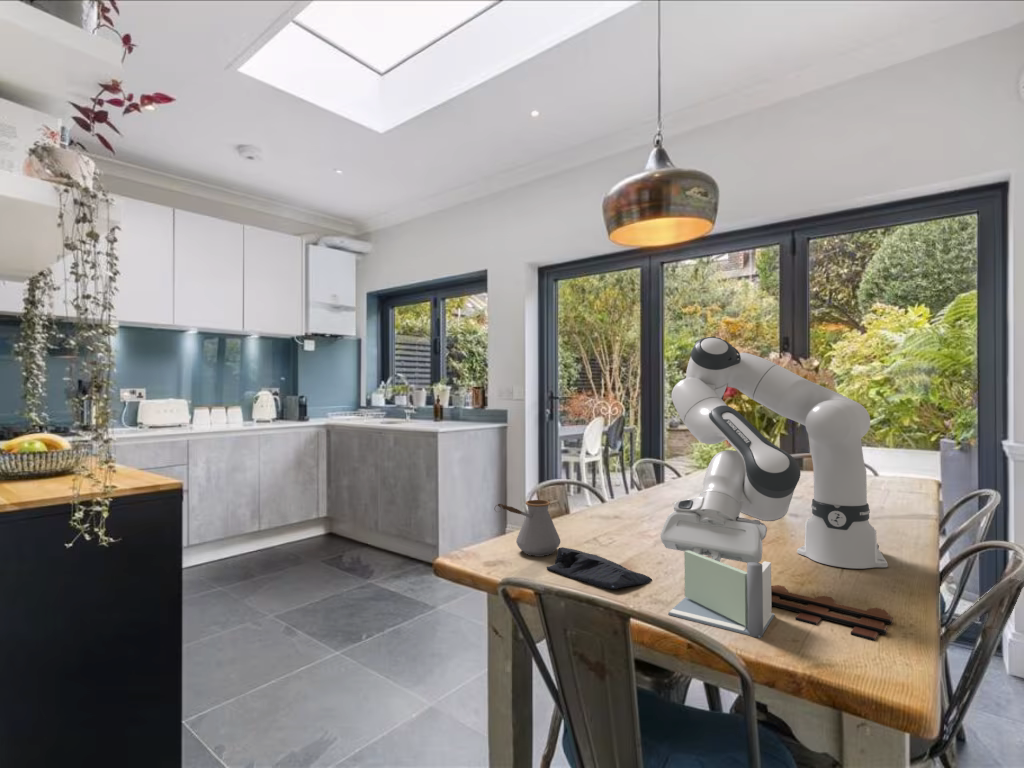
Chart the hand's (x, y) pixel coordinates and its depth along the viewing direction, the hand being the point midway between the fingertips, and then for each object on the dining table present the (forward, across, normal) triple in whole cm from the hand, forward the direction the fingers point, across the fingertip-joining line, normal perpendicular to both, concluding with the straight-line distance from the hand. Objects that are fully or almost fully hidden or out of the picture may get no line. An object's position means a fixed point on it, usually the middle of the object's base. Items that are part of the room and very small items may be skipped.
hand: (702, 572), depth 110 cm
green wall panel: (+8, -5, +2) cm, 10 cm away
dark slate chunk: (+4, +24, -4) cm, 24 cm away
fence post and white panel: (+9, -13, +2) cm, 15 cm away
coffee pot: (+3, +44, -4) cm, 45 cm away
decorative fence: (0, -20, -8) cm, 21 cm away
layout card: (+8, -6, +2) cm, 10 cm away
